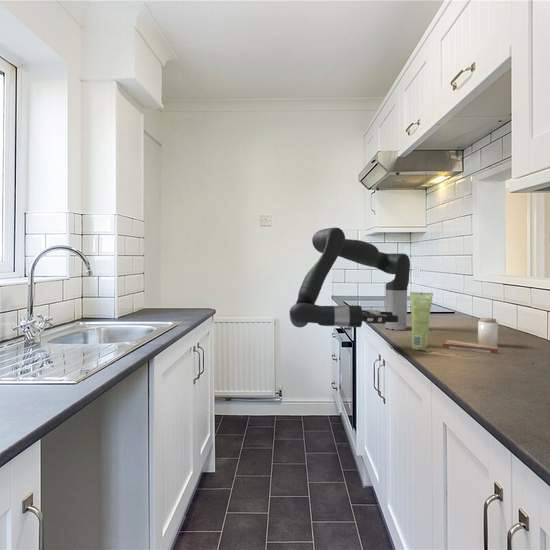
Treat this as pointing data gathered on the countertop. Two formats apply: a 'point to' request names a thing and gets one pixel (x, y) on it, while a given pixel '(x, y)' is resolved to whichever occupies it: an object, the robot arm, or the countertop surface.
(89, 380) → the countertop surface
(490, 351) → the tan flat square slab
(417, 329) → the tube
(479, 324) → the jar
